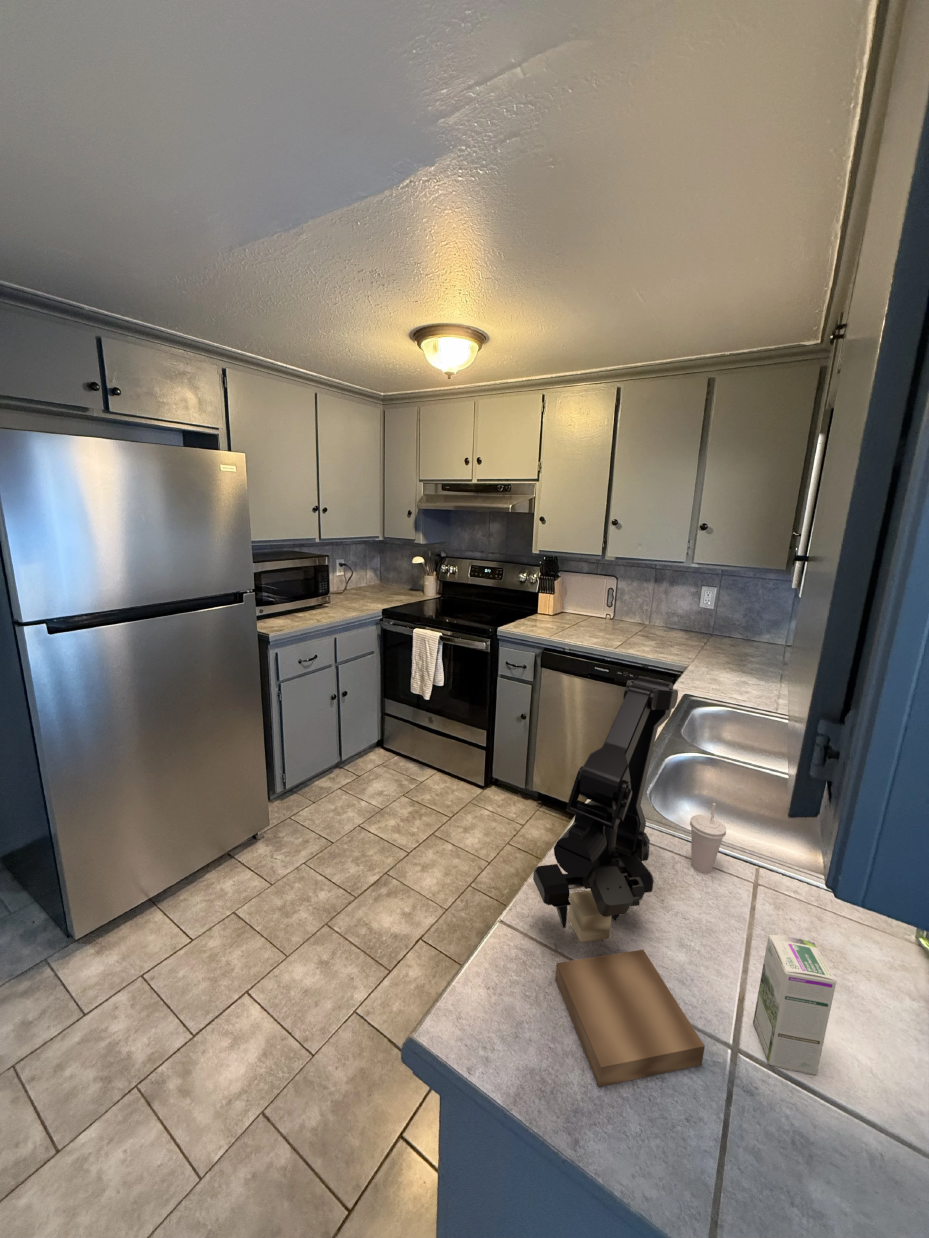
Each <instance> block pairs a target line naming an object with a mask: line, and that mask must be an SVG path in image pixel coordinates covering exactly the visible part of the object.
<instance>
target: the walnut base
mask: <svg viewBox="0 0 929 1238" xmlns="http://www.w3.org/2000/svg"><path fill="white" fill-rule="evenodd" d="M554 980H555V983H556V985H557V988H558V991H559V993H560V995H561V998H562V1000H563V1003H564V1005H565V1007H566V1010H567V1012H568V1015H569V1017H570V1020H571V1022H572V1024H573V1027H574V1029H575V1032H576V1034H577V1037H578V1039H579V1042H580V1044H581V1047H582V1049H583V1051H584V1054H585V1056H586V1058H587V1062H588V1064H589V1067H590V1069H591V1071H592V1074H593V1077H594V1079H595V1081H596V1084H597V1087H599V1088H600V1087H604V1086H605V1087H606V1086H609V1085H610V1086H611V1085H615V1084H619V1083H623V1082H629V1081H633V1080H637V1079H642V1078H646V1077H647V1078H648V1077H652V1076H657V1075H661V1074H667V1073H670V1072H671V1073H672V1072H676V1071H680V1070H681V1071H682V1070H685V1069H689V1068H694V1067H699V1066H702V1064H703V1058H704V1054H705V1047H706V1046H705V1043H704V1042H703V1041H702V1040H701V1038H700V1036H699V1034H698V1033H697V1031H696V1030H695V1029H694V1027H693V1025H692V1024H691V1022H690V1020H689V1018H688V1017H687V1015H686V1014H685V1012H684V1011H683V1010H682V1008H681V1006H680V1004H679V1003H678V1002H677V999H676V998H675V997H674V995H673V993H672V992H671V991H670V989H669V987H668V986H667V984H666V983H665V981H664V979H663V977H661V975H660V974H659V972H658V970H657V968H656V967H655V965H654V963H653V962H652V960H651V959H650V958H649V956H648V955H647V952H645V950H644V949H638V950H636V949H635V950H632V951H631V950H630V951H624V952H618V953H617V952H616V953H612V954H605V955H604V954H603V955H600V956H598V955H597V956H592V957H586V958H581V959H580V958H579V959H572V960H567V961H561V962H560V961H559V962H556V966H555V976H554Z"/></svg>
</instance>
